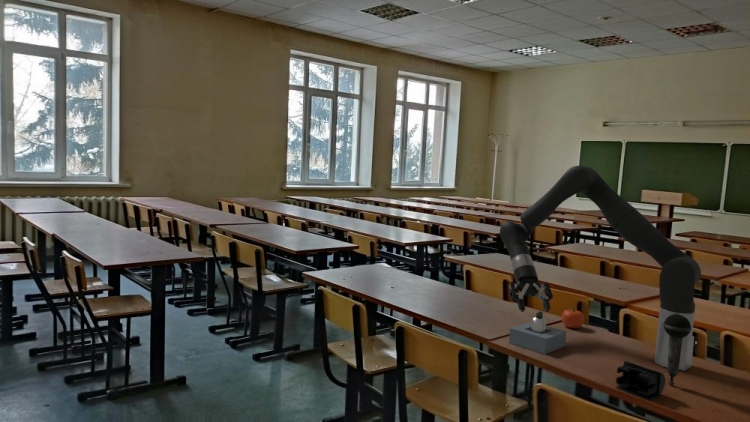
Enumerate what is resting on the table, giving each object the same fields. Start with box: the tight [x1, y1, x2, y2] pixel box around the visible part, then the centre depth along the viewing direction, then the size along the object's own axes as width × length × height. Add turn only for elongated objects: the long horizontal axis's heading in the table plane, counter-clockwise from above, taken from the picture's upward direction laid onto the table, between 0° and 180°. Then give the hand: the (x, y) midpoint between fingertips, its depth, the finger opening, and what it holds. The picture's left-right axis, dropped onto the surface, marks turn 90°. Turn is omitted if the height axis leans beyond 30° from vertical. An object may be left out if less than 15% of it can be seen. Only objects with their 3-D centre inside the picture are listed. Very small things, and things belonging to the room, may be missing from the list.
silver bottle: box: [531, 310, 547, 334], centre depth 180 cm, size 4×4×11 cm
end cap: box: [615, 360, 666, 401], centre depth 145 cm, size 10×7×7 cm
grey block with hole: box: [508, 321, 567, 355], centre depth 180 cm, size 13×13×5 cm
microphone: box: [663, 314, 692, 387], centre depth 150 cm, size 7×7×20 cm
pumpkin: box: [561, 307, 585, 329], centre depth 202 cm, size 8×8×7 cm
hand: (535, 310), depth 182 cm, fingers open, 8 cm apart
